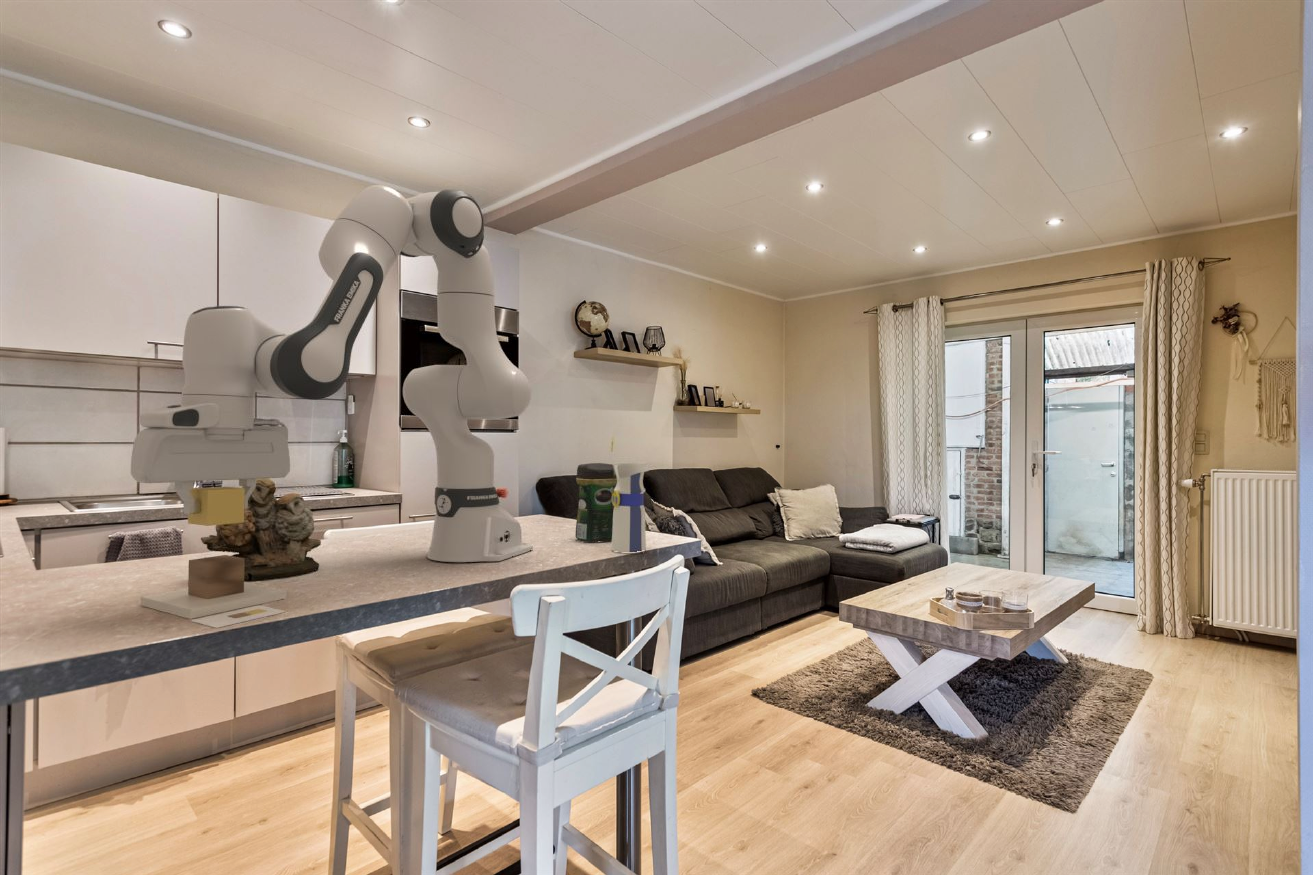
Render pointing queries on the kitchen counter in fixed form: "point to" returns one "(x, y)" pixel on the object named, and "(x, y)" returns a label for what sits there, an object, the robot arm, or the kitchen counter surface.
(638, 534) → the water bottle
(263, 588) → the plate
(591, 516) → the coffee jar
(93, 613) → the kitchen counter surface
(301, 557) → the three owls sculpture
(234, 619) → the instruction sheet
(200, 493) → the mustard block
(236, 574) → the walnut block
